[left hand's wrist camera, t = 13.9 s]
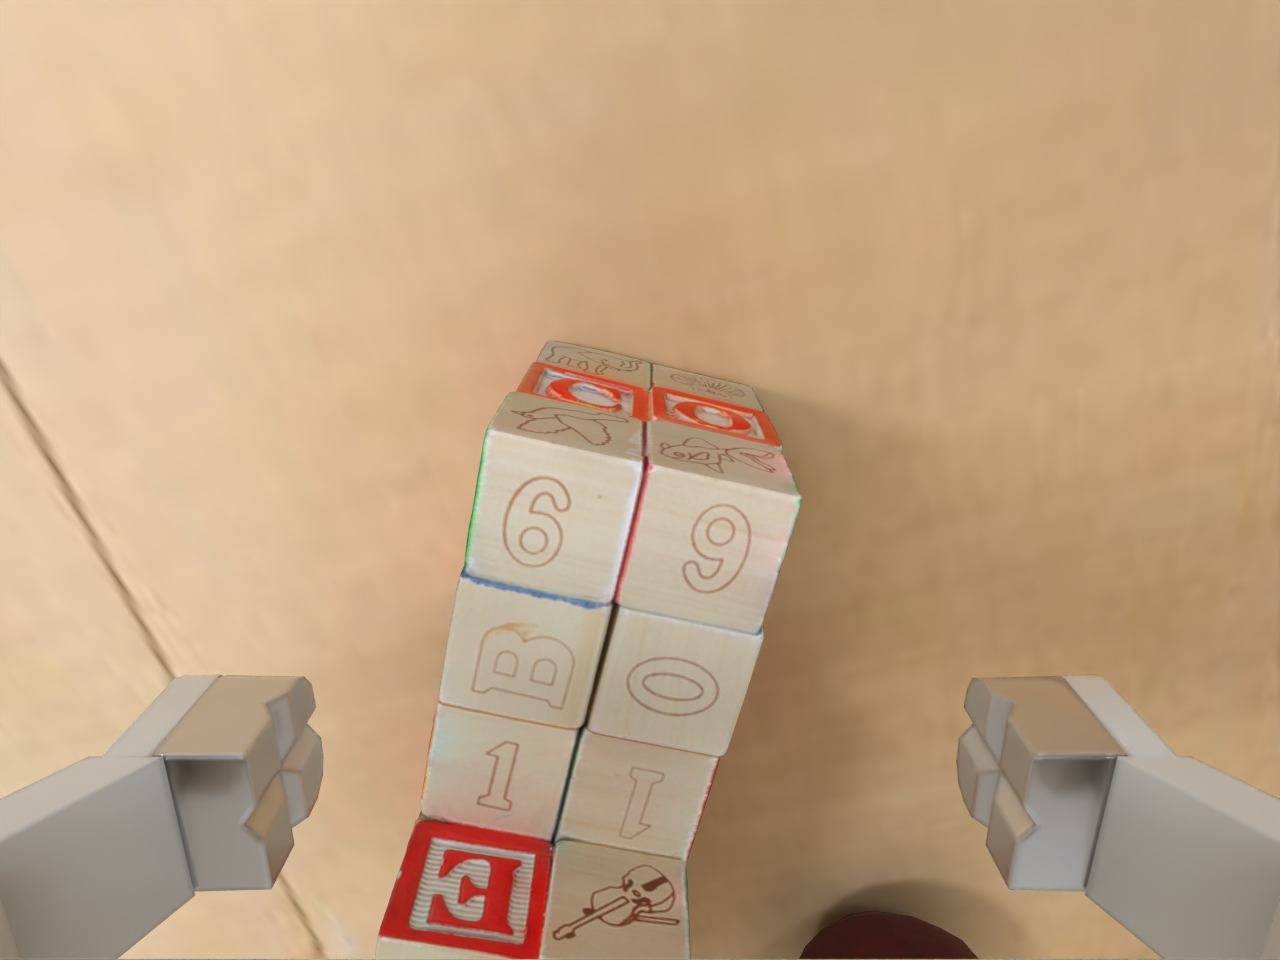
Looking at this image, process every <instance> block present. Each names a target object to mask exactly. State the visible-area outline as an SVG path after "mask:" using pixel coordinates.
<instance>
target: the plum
mask: <svg viewBox="0 0 1280 960" xmlns="http://www.w3.org/2000/svg"><path fill="white" fill-rule="evenodd" d="M800 959H978V957H977V956H976V955H975V954H974V953H973V952H972V951H971V950H970V949H969V948H968V946H967V945H966V944H965V943H964V942H963V941H962V940H961V939H959V938H957V937H955V936H954V935H952V934H950V933H948V932H946V931H945V930H943V929H941V928H939V927H936V926H934V925H931V924H929V923H927V922H924V921H922V920H919V919H917V918H914V917H911V916H904V915H897V914H890V913H883V912H877V911H869V912H862V913H855V914H851V915H849V916H847V917H845V918H843V919H841V920H839V921H837V922H835V923H833V924H831V925H829V926H827V927H825V928H823V929H822V930H821V931H820V932H819V933H818V934H817V935H816V936H815V937H814V938H813V939H812V940H811V941H810V942H809V943H808V944H807V945H806V946H805V948H804V951H803V953H802V955H801V957H800Z"/></svg>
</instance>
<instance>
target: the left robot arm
mask: <svg viewBox="0 0 1280 960" xmlns="http://www.w3.org/2000/svg"><path fill="white" fill-rule="evenodd" d="M315 708H316V704H315V699H314V694H313V689H312V684H311V683H310V682H309V681H308V680H307V679H306V678H305V677H289V676H240V675H226V676H222V675H185V676H181V677H177V678H175V679H174V680H173V681H172V682H171V683H170V684H169V685H168V686H167V687H166V688H165V690H164V691H163V692H162V693H161V694H160V695H159V696H158V697H157V698H156V699H155V700H154V701H153V702H152V704H151V705H150V706H149V707H148V708H147V709H146V710H145V711H144V712H143V713H142V714H141V715H140V717H139V718H138V719H137V720H136V721H135V722H134V723H133V724H132V725H131V726H130V727H129V728H128V729H127V731H126V732H125V733H124V734H123V735H122V736H121V737H120V738H119V739H118V740H117V741H116V742H115V743H114V745H113V746H112V747H111V748H110V749H109V750H108V751H107V752H106V753H105V754H104V755H103V756H102V757H87V758H85V759H83V760H81V761H79V762H77V763H75V764H72V765H70V766H68V767H66V768H64V769H62V770H60V771H58V772H56V773H54V774H52V775H49V776H47V777H45V778H43V779H41V780H39V781H37V782H35V783H33V784H31V785H29V786H26V787H24V788H22V789H20V790H18V791H16V792H14V793H12V794H10V795H8V796H6V797H3V798H1V799H0V960H1280V799H1278V798H1276V797H1274V796H1272V795H1270V794H1268V793H1266V792H1264V791H1262V790H1260V789H1258V788H1256V787H1253V786H1251V785H1249V784H1247V783H1245V782H1243V781H1241V780H1239V779H1237V778H1235V777H1233V776H1230V775H1228V774H1226V773H1224V772H1222V771H1220V770H1218V769H1216V768H1214V767H1212V766H1210V765H1208V764H1205V763H1203V762H1201V761H1199V760H1197V759H1195V758H1193V757H1178V756H1177V755H1176V754H1175V753H1174V752H1173V751H1172V750H1171V749H1170V748H1169V747H1168V746H1167V745H1166V743H1165V742H1164V741H1163V740H1162V739H1161V738H1160V737H1159V736H1158V735H1157V734H1156V733H1155V732H1154V731H1153V729H1152V728H1151V727H1150V726H1149V725H1148V724H1147V723H1146V722H1145V721H1144V720H1143V719H1142V718H1141V716H1140V715H1139V714H1138V713H1137V712H1136V711H1135V710H1134V709H1133V708H1132V707H1131V706H1130V705H1129V703H1128V702H1127V701H1126V700H1125V699H1124V698H1123V697H1122V696H1121V695H1120V694H1119V693H1118V692H1117V691H1116V689H1115V688H1114V687H1113V686H1112V685H1111V684H1110V683H1109V682H1108V681H1107V680H1106V679H1105V678H1102V677H1100V676H1098V675H1096V674H1092V675H1064V676H1046V677H1001V678H972V680H971V682H970V684H969V686H968V688H967V692H966V698H965V704H964V708H965V710H966V711H967V713H968V715H969V717H970V718H971V720H972V722H973V724H972V725H971V726H970V727H969V728H968V729H967V730H966V731H965V732H964V733H963V734H962V735H961V737H960V738H959V744H958V752H957V772H958V783H959V787H960V790H961V794H962V797H963V801H964V803H965V805H966V807H967V809H968V811H969V813H970V815H971V817H973V818H974V819H976V820H977V821H979V822H980V823H981V824H983V825H984V826H986V827H987V828H988V834H987V840H986V846H987V848H988V850H989V852H990V854H991V856H992V858H993V860H994V862H995V863H996V865H997V867H998V869H999V871H1000V873H1001V875H1002V877H1003V879H1004V881H1005V883H1006V884H1007V886H1008V888H1009V889H1017V890H1053V891H1086V892H1085V895H1086V896H1087V897H1088V898H1089V899H1091V900H1092V901H1093V902H1094V903H1095V904H1097V905H1098V906H1099V907H1100V908H1102V909H1103V910H1104V911H1105V912H1106V913H1108V914H1109V915H1110V916H1111V917H1113V918H1114V919H1115V920H1116V921H1117V922H1119V923H1120V924H1121V925H1122V926H1123V927H1125V928H1126V929H1127V930H1128V931H1130V932H1131V933H1132V934H1133V935H1134V936H1136V937H1137V938H1138V939H1139V940H1141V941H1142V942H1143V943H1144V944H1145V945H1147V946H1148V947H1149V948H1150V949H1152V950H1153V951H1154V952H1155V953H1156V954H1158V955H1159V956H1160V957H1161V958H1163V959H118V958H119V957H120V956H121V955H123V954H124V953H125V952H126V951H127V950H129V949H130V948H131V947H132V946H134V945H135V944H136V943H137V942H139V941H140V940H141V939H142V938H143V937H145V936H146V935H147V934H148V933H150V932H151V931H152V930H153V929H154V928H156V927H157V926H158V925H159V924H161V923H162V922H163V921H164V920H165V919H167V918H168V917H169V916H170V915H172V914H173V913H174V912H175V911H176V910H178V909H179V908H180V907H181V906H183V905H184V904H185V903H186V902H187V901H189V900H190V899H191V898H192V897H194V896H195V893H194V891H226V890H261V889H271V888H272V887H273V885H274V883H275V881H276V879H277V877H278V875H279V873H280V871H281V869H282V867H283V865H284V864H285V862H286V860H287V858H288V856H289V854H290V852H291V850H292V848H293V846H294V840H293V834H292V828H293V827H294V826H296V825H297V824H299V823H300V822H301V821H303V820H304V819H306V818H307V817H309V815H310V813H311V811H312V809H313V807H314V805H315V802H316V800H317V798H318V794H319V789H320V785H321V781H322V776H323V750H322V743H321V738H320V737H319V735H318V734H317V733H316V732H315V731H314V730H313V729H312V728H311V727H310V726H309V725H308V724H307V722H308V720H309V718H310V717H311V715H312V713H313V711H314V710H315Z"/></svg>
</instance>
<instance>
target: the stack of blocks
mask: <svg viewBox="0 0 1280 960" xmlns="http://www.w3.org/2000/svg"><path fill="white" fill-rule="evenodd" d="M782 448H783V446H782V443H781V441H780V439H779V437H778V435H777V433H776V431H775V429H774V427H773V425H772V423H771V422H770V420H769V418H768V416H767V415H766V414H765V413H764V410H763V408H762V406H761V405H760V403H759V401H758V399H757V397H756V396H755V393H754V392H753V390H752V388H751V387H749V386H747V385H742V384H738V383H733V382H729V381H724V380H720V379H716V378H712V377H707V376H703V375H699V374H695V373H690V372H686V371H682V370H678V369H674V368H669V367H665V366H661V365H655V364H651V363H648V362H646V361H642V360H638V359H634V358H630V357H626V356H622V355H618V354H614V353H610V352H605V351H601V350H597V349H592V348H587V347H583V346H578V345H573V344H567V343H561V342H555V341H548V342H547V343H546V344H545V346H544V347H543V349H542V350H541V352H540V355H539V357H538V358H537V361H536V362H534V363H532V364H531V366H530V368H529V369H528V371H527V373H526V375H525V376H524V378H523V380H522V381H521V383H520V385H519V387H518V389H517V391H516V392H510V393H509V394H508V395H507V397H506V398H505V399H504V402H503V403H502V404H501V406H500V408H499V409H498V411H497V413H496V414H495V416H494V418H493V419H492V421H491V422H490V424H489V426H488V428H487V430H486V434H485V438H484V443H483V448H482V455H481V461H480V467H479V473H478V479H477V485H476V491H475V497H474V504H473V510H472V515H471V520H470V525H469V531H468V538H467V546H466V554H465V565H464V567H463V570H462V572H461V575H460V577H459V581H458V586H457V590H456V596H455V601H454V607H453V613H452V619H451V625H450V632H449V637H448V643H447V649H446V655H445V661H444V667H443V673H442V678H441V685H440V691H439V699H438V703H437V707H436V711H435V715H434V719H433V728H432V732H431V738H430V744H429V751H428V758H427V765H426V772H425V778H424V785H423V791H422V797H421V813H420V815H419V818H418V819H417V820H416V822H415V825H414V828H413V831H412V834H411V837H410V840H409V842H408V846H407V850H406V853H405V857H404V859H403V862H402V865H401V867H400V870H399V873H398V875H397V878H396V882H395V885H394V888H393V891H392V894H391V897H390V900H389V903H388V906H387V909H386V912H385V915H384V918H383V921H382V924H381V927H380V930H379V934H378V940H377V946H376V953H375V959H691V950H690V929H689V907H688V883H687V870H686V861H687V859H688V857H689V854H690V851H691V848H692V845H693V842H694V839H695V835H696V832H697V829H698V826H699V823H700V820H701V817H702V814H703V811H704V807H705V804H706V801H707V798H708V795H709V792H710V789H711V786H712V783H713V780H714V777H715V774H716V770H717V767H718V764H719V760H720V757H721V756H722V755H724V754H725V753H726V751H727V749H728V746H729V743H730V740H731V737H732V734H733V731H734V728H735V725H736V722H737V720H738V717H739V714H740V711H741V708H742V705H743V702H744V699H745V696H746V692H747V689H748V686H749V683H750V680H751V677H752V674H753V670H754V667H755V664H756V661H757V658H758V655H759V651H760V648H761V645H762V642H763V639H764V632H763V628H762V622H763V620H764V617H765V615H766V612H767V609H768V606H769V603H770V600H771V597H772V594H773V591H774V588H775V584H776V581H777V578H778V575H779V572H780V569H781V566H782V563H783V560H784V557H785V554H786V551H787V547H788V543H789V541H790V538H791V535H792V532H793V529H794V526H795V523H796V519H797V516H798V513H799V510H800V507H801V504H802V497H801V495H800V492H799V490H798V487H797V485H796V482H795V480H794V478H793V476H792V474H791V472H790V470H789V468H788V467H787V464H786V461H785V459H784V457H783V455H782V454H781V453H782Z"/></svg>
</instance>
